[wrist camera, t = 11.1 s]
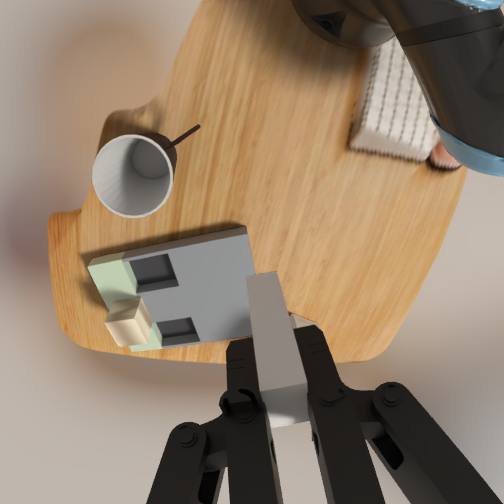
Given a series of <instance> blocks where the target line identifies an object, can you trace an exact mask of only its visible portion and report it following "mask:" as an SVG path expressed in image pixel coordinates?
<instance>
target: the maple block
mask: <svg viewBox="0 0 504 504" xmlns="http://www.w3.org/2000/svg"><path fill="white" fill-rule="evenodd" d="M152 323H153V321H152V319H151V317H150V314H149V312H148V310H147V308H146V306H145V304H144V302H143V299H142V297H138V298H132V299H126V300H120V301H114V302H113V304H112V306H111V308H110V311H109V313H108V315H107V318H106V320H105V325H106V326H107V328H108V330H109V332H110V333H111V335H112V337H113V338H114V340H115V342H116V343H117V345H118V346H119V347H123V346H132V345H141V344H148V340H149V336H150V331H151V327H152Z"/></svg>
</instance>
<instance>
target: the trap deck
mask: <svg viewBox="0 0 504 504" xmlns="http://www.w3.org/2000/svg"><path fill="white" fill-rule="evenodd" d="M87 267H88V270H89V272H90V274H91V276H92V278H93V280H94V282H95V284H96V286H97V289H98V291H99V293H100V295H101V297H102V299H103V300H104V302H105V304H106V306H107V308H108V310H109V311H110V308H111V306H112V304H113V302H114V301H120V300H126V299H132V298H138V297H142V299H143V302H144V304H145V306H146V308H147V310H148V312H149V314H150V317H151V319H152V321H153V323H152V327H151V331H150V336H149V340H148V344H141V345H132V346H129V347H130V349H131V351H132V352H135V351H145V350H154V349H163V348H171V347H179V346H186V345H194V344H201V343H207V342H214V341H220V340H227V339H233V338H239V337H244V336H250V335H253V334H252V326H251V318H250V310H249V302H248V294H247V286H246V277H247V276H252V275H256V274H255V269H254V264H253V259H252V254H251V248H250V243H249V238H248V233H247V228H246V226H244V227H239V228H234V229H229V230H224V231H219V232H214V233H209V234H204V235H199V236H194V237H189V238H184V239H179V240H174V241H170V242H165V243H160V244H156V245H151V246H146V247H142V248H137V249H132V250H128V251H123V252H119V253H114V254H110V255H105V256H101V257H97V258H93V259H92V260H91V262H90V263H89V265H88V266H87Z"/></svg>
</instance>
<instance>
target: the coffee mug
mask: <svg viewBox="0 0 504 504" xmlns="http://www.w3.org/2000/svg"><path fill="white" fill-rule="evenodd" d="M199 128H200V125H199V124H198V125H196V126H195V127H193V128H192V129H190V130H189V131H187V132H186V133H184V134H183V135H181V136H180V137H179V138H177V139H176V140H174V141H173V142H171V141H170V140H169V139H168V138H166V137H165V136H163V135H160V134H128V135H123V136H119V137H117V138H114V139H112V140H111V141H109V142H108V143H107V144H105V145H104V147H103V148H102V149H101V150H100V151H99V153H98V155H97V156H96V158H95V161H94V164H93V169H92V182H93V187H94V190H95V192H96V195H97V197H98V198H99V200H100V201H101V203H102V204H103V205H104V206H105V207H106V208H107V209H109V210H110V211H111V212H113V213H115V214H117V215H119V216H122V217H126V218H141V217H145V216H148V215H150V214H152V213H154V212H155V211H157V210H158V209H159V208H160V207H161V206H163V204H164V203H165V202H166V200H167V199H168V197H169V195H170V192H171V189H172V185H173V179H174V173H175V167H176V161H177V154H176V150H175V147H174V146H175V145H176V144H178V143H180V142H181V141H182V140H184V139H185V138H186V137H188V136H189V135H191V134H192V133H193V132H195V131H196V130H198V129H199Z"/></svg>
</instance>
